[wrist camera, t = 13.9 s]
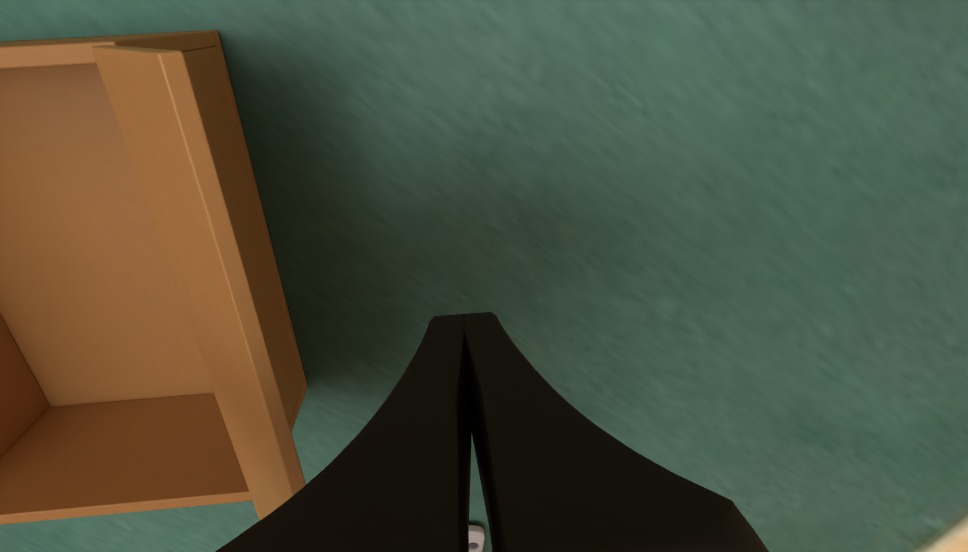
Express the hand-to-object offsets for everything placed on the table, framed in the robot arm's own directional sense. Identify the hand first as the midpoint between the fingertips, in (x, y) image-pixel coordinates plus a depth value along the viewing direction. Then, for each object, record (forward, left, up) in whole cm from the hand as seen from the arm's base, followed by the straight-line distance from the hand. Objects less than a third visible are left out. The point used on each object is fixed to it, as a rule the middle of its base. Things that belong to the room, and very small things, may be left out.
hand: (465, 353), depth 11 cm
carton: (-2, +11, -8) cm, 14 cm away
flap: (-1, +5, 0) cm, 5 cm away
